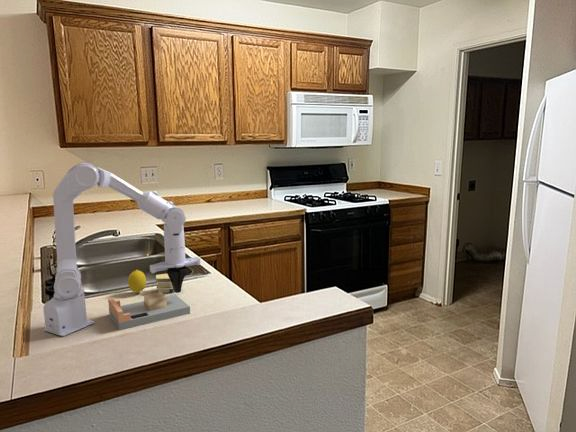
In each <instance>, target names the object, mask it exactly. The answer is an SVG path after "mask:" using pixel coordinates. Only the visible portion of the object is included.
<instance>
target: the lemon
mask: <svg viewBox="0 0 576 432" xmlns="http://www.w3.org/2000/svg"><path fill="white" fill-rule="evenodd" d="M127 281H128V282H127V285H128V287H129V289H130V291H131V292H134V293H135V294H140V293H141V292H142V291H143V290H145V288H146V286H147V277H146V276H145V273H144V272H143V271H142V270H139V269H135V270H134V271H131V273H130V274H129V275H128V279H127Z"/></svg>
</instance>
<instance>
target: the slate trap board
mask: <svg viewBox="0 0 576 432" xmlns="http://www.w3.org/2000/svg"><path fill="white" fill-rule="evenodd" d="M165 296H166V295H165ZM166 297H167V307H165V308H160V309H156V310H151V311H149V310H148V309H147V308H146V306H145V305H144V300H143V301H138V302H134V303H133V302H132V303H127V304H124V305H120V306H121V307H120V308H121V309H122V311H123V314H127V313H130V317H131V320H130V321H125V322H121V323H119V322H118V321H117V319H116V318H115V317H114V315H113V314H112V312H111V311H110V309H109V308H108V314H109V316H110V318H111V319H112V321H113V322H114V323H113V324H115V326H116V327H117V329H118V330H119V331H122V330H126V329H129V328H130V329H131V328H134V327H138V326H143V325H146V324H147V325H148V324H151V323H154V322H156V323H157V322H159V321H164V320H167V319H172V318H175V317H180V316H181V317H182V316H185V315H188V314H191V307H190V305H188V304H187V302H185V301H184V300H183V299H181V298H180V296H178V295H177V293H176V294H171V295H167V296H166Z"/></svg>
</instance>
